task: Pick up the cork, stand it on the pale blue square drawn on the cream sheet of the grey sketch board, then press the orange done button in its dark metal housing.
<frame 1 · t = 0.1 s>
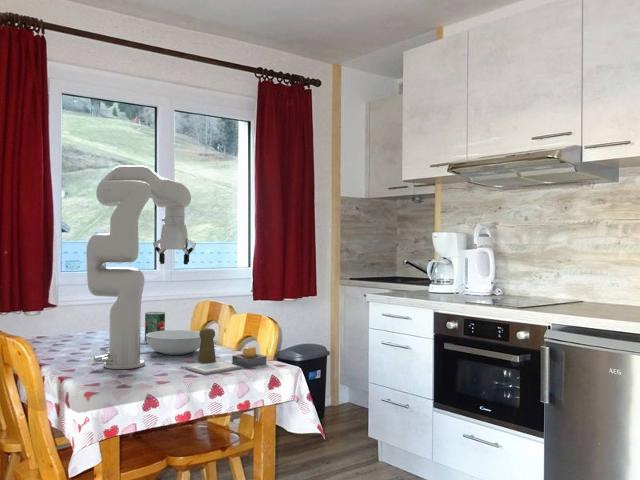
hand: (174, 264, 235), 31 cm above the table, tool pointing down, fingers open, 9 cm apart
done button: (249, 352, 195), point 4 cm above the table, slide at 0.0 cm
canned tomato: (154, 340, 240), on the table
serving bowl: (175, 353, 213), on the table
sketch board: (213, 368, 187), on the table
cork: (206, 361, 199), on the table
button housing: (249, 364, 195), on the table
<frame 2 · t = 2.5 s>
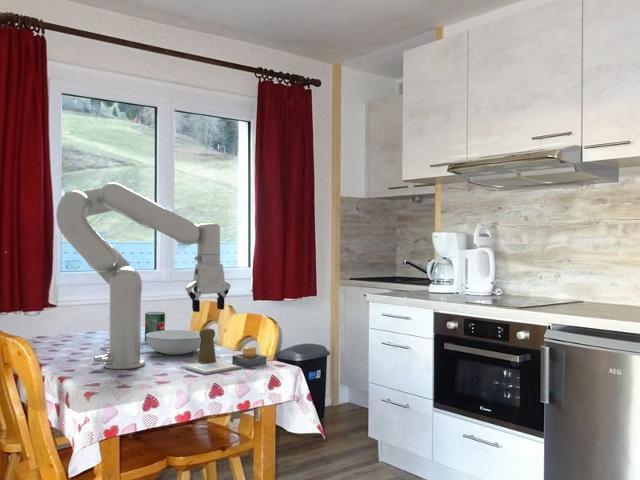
hand: (208, 310, 199), 17 cm above the table, tool pointing down, fingers open, 9 cm apart
nothing on the table moved.
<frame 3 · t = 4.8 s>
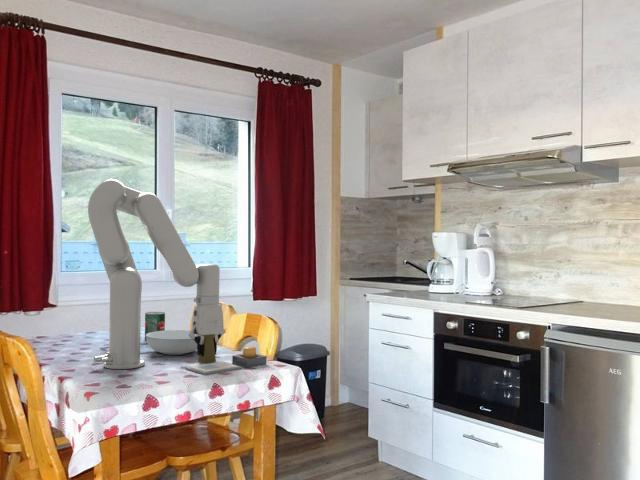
hand: (206, 354, 199), 2 cm above the table, tool pointing down, fingers closed on cork, 4 cm apart
cork: (206, 361, 199), on the table, touching gripper
everything else where it was.
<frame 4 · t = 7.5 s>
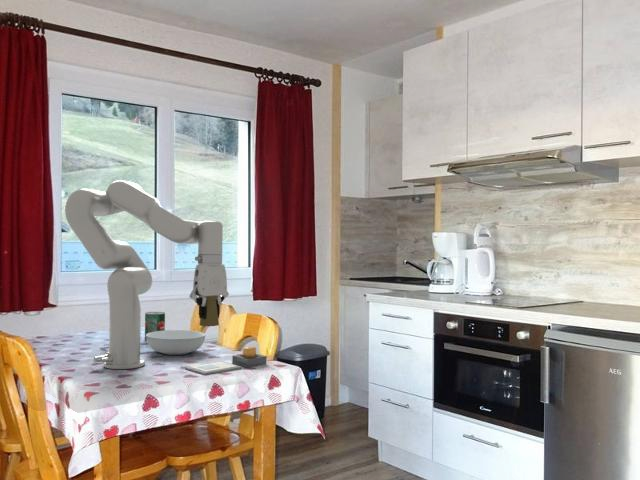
hand: (209, 317, 186), 16 cm above the table, tool pointing down, fingers closed on cork, 4 cm apart
cork: (209, 325, 186), point 14 cm above the table, touching gripper
everything else where it was.
when the fingers open (4 cm above the table, at t = 10.4 s): cork stays where it is, resting on sketch board.
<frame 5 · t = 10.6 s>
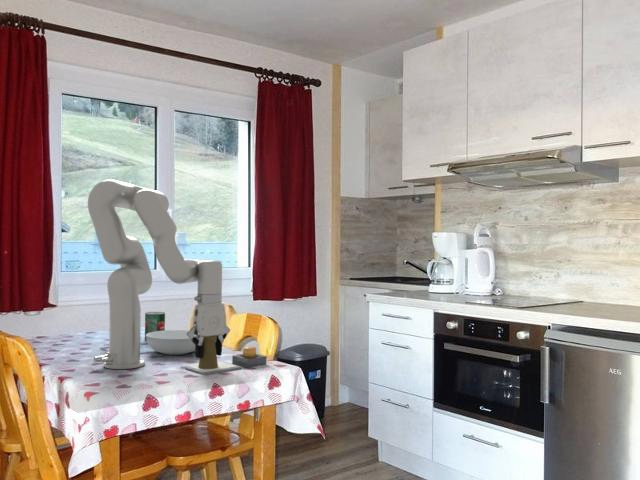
hand: (208, 355, 186), 4 cm above the table, tool pointing down, fingers open, 6 cm apart
cork: (208, 367, 186), point 1 cm above the table, touching sketch board
everything else where it was.
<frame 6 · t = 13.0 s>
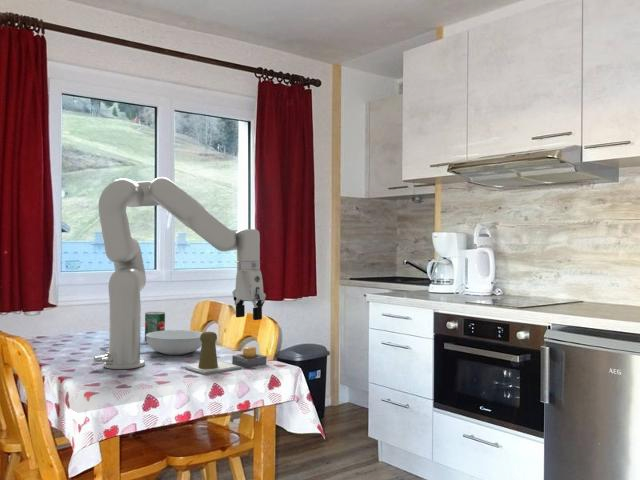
hand: (248, 318, 194), 15 cm above the table, tool pointing down, fingers open, 9 cm apart
nothing on the table moved.
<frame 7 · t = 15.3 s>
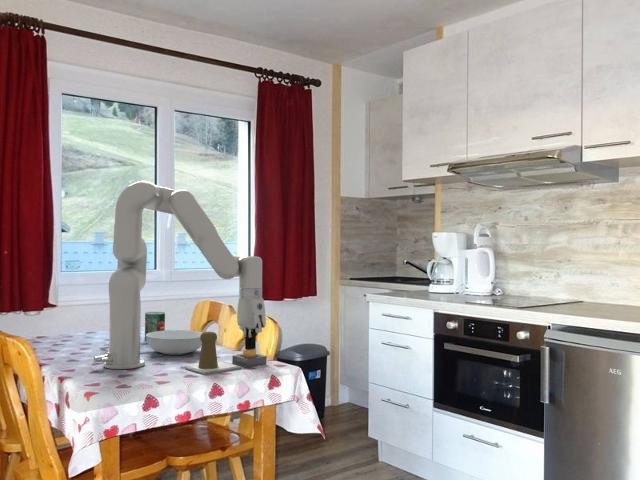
hand: (250, 348, 195), 5 cm above the table, tool pointing down, fingers closed
done button: (249, 353, 195), point 3 cm above the table, slide at 0.4 cm, touching gripper
everything else where it was.
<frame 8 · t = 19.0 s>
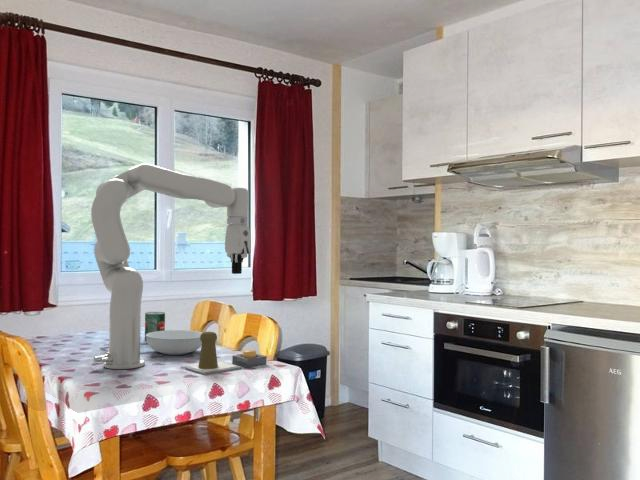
hand: (236, 273, 211), 29 cm above the table, tool pointing down, fingers closed
done button: (249, 356, 195), point 3 cm above the table, slide at 1.1 cm
everything else where it was.
at the end: cork inside the target area on the sketch board (0.1 cm from its centre), point 0.7 cm above the sketch board's base; cork tilted 0°; done button slide at 1.1 cm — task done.
